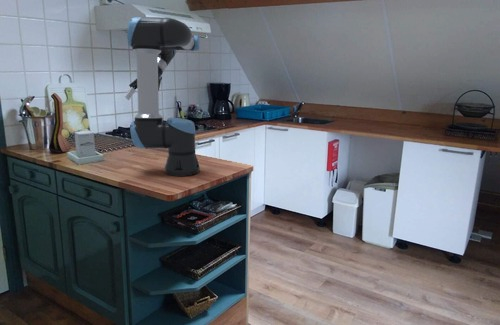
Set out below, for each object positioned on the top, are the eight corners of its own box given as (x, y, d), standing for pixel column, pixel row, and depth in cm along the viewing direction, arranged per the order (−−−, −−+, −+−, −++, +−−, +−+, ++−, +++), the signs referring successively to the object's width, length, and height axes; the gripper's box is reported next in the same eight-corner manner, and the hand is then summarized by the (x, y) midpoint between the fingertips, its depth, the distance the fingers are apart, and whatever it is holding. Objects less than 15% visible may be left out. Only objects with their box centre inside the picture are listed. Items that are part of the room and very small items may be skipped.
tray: (104, 160, 189) (103, 155, 188) (78, 164, 181) (77, 158, 180) (92, 154, 200) (91, 148, 200) (67, 157, 193) (67, 152, 192)
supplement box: (80, 160, 185) (77, 134, 182) (76, 157, 191) (73, 131, 188) (96, 158, 190) (94, 132, 186) (92, 155, 195) (90, 130, 192)
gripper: (177, 74, 202) (157, 106, 194) (145, 72, 216) (124, 102, 208) (169, 63, 196) (148, 96, 188) (136, 62, 210) (115, 92, 202)
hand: (135, 99), depth 198 cm, fingers open, 13 cm apart
